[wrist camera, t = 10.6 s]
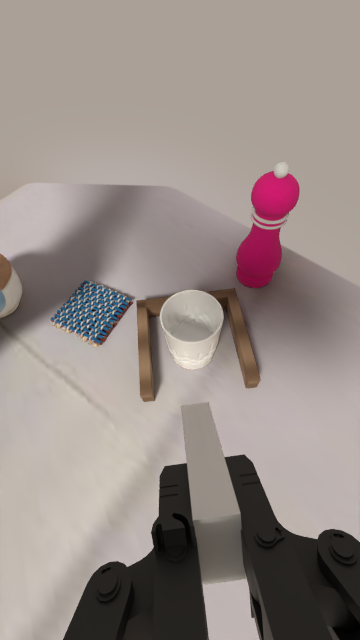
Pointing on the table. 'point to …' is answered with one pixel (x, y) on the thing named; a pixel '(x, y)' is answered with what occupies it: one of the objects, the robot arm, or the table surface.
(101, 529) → the table surface
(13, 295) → the lidded jar
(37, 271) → the table surface
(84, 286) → the woven mat
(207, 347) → the white cup
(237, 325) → the walnut bay
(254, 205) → the pepper mill
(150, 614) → the robot arm
